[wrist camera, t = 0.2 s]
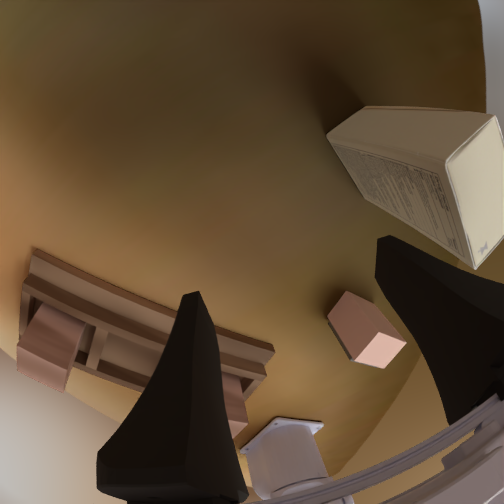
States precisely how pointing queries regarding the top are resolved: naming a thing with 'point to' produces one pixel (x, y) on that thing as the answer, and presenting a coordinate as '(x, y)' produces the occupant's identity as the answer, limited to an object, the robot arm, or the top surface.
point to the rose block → (364, 331)
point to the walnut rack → (115, 336)
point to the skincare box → (430, 172)
